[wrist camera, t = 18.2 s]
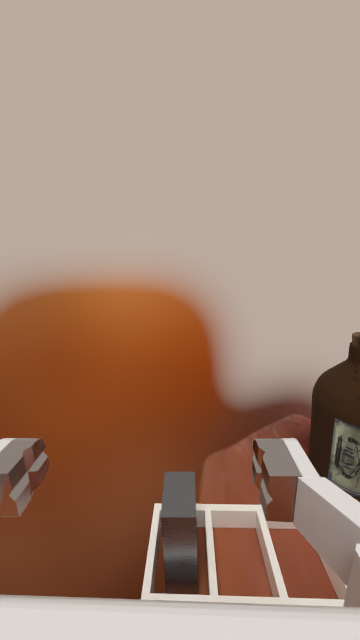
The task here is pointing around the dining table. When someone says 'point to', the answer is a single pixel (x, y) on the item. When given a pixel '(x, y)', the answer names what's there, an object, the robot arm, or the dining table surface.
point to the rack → (222, 519)
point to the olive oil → (338, 423)
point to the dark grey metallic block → (179, 533)
